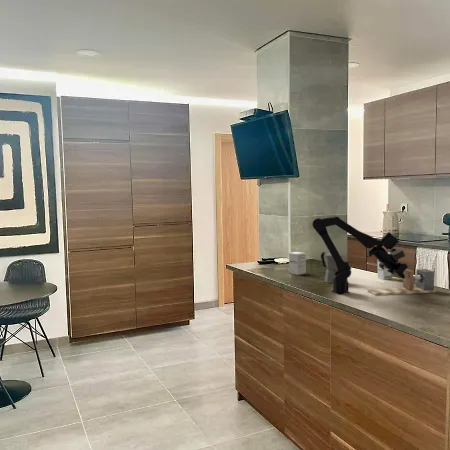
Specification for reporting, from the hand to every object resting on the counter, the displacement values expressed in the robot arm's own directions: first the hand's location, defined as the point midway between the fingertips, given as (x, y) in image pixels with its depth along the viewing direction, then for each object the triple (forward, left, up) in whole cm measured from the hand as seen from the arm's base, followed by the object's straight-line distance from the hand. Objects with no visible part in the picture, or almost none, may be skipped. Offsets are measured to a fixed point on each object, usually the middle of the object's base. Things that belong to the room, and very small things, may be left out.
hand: (404, 277), depth 216 cm
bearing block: (+11, -2, -6) cm, 12 cm away
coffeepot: (-20, +34, -7) cm, 40 cm away
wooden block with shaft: (+7, -1, -5) cm, 9 cm away
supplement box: (-27, +62, -7) cm, 68 cm away
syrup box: (+11, +30, -7) cm, 33 cm away
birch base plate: (-1, 0, -7) cm, 7 cm away
